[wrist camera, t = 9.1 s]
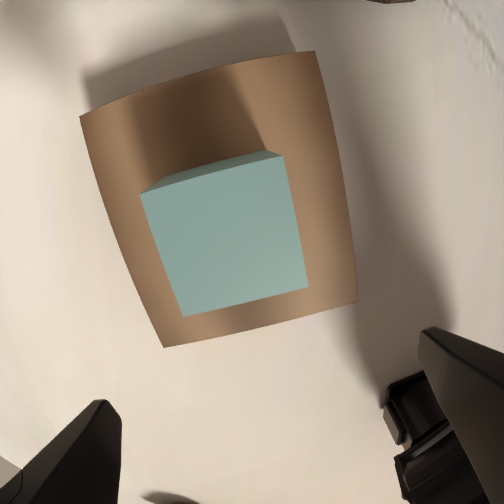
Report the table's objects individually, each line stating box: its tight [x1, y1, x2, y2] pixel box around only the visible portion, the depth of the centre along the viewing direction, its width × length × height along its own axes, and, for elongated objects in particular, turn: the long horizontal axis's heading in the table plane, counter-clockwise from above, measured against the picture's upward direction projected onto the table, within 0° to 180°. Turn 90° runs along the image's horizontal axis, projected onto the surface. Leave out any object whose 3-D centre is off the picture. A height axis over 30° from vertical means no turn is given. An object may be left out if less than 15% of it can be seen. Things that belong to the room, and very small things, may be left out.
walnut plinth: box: [79, 51, 358, 348], centre depth 16 cm, size 12×14×3 cm
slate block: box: [139, 150, 309, 317], centre depth 13 cm, size 5×5×4 cm
